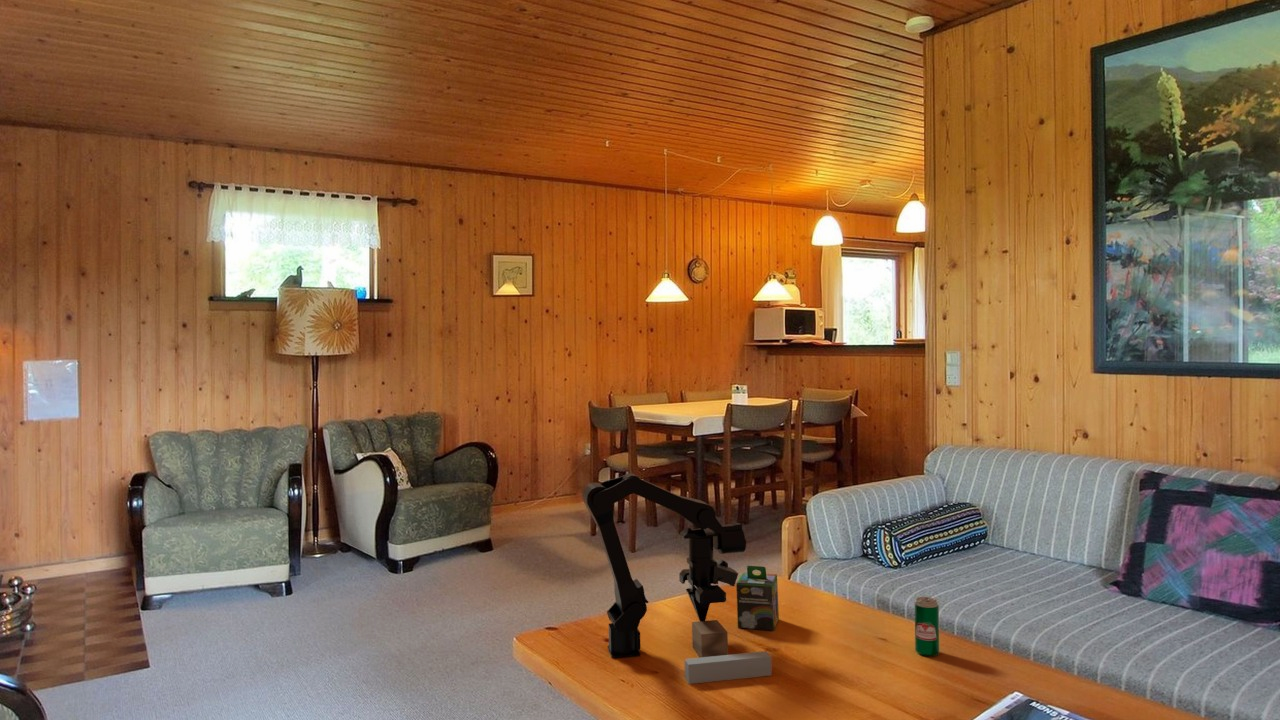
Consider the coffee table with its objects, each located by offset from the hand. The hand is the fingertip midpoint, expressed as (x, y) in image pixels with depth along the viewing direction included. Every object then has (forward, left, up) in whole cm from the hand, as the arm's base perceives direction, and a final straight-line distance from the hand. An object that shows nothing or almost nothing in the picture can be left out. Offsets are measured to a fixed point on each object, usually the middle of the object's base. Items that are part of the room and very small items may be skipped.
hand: (702, 621), depth 183 cm
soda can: (+47, -18, -5) cm, 51 cm away
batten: (0, -20, -5) cm, 20 cm away
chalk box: (+17, +9, -5) cm, 20 cm away
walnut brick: (0, -6, -5) cm, 8 cm away
